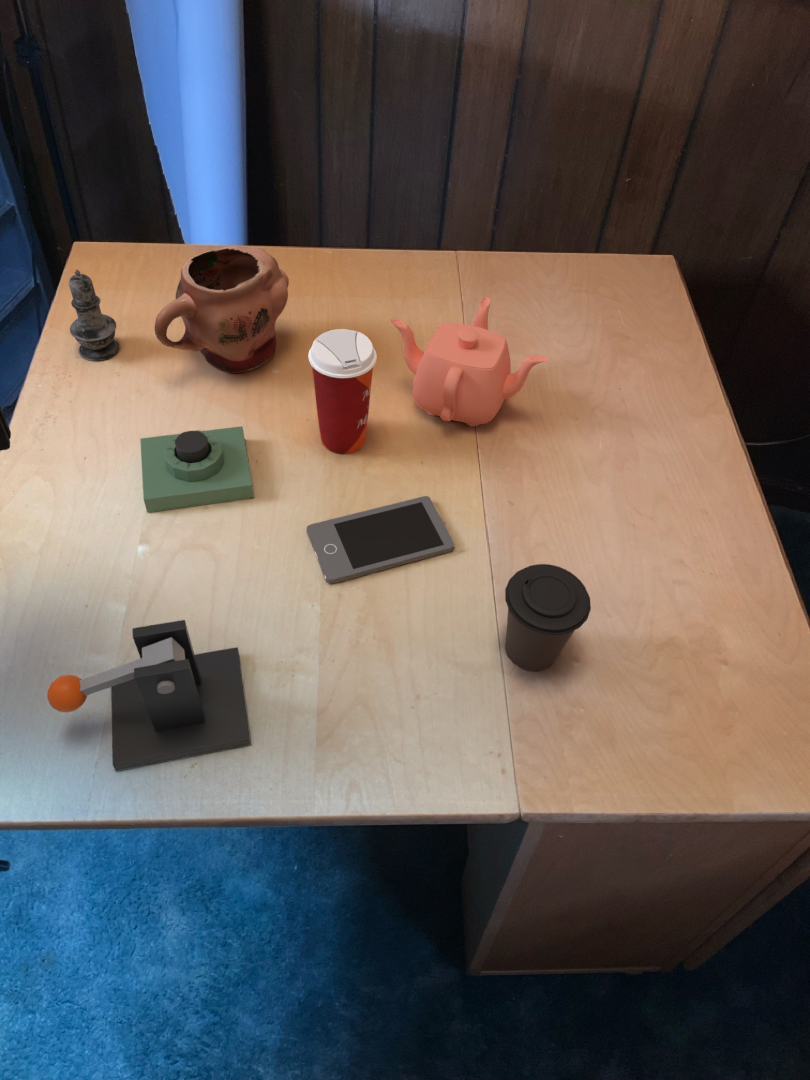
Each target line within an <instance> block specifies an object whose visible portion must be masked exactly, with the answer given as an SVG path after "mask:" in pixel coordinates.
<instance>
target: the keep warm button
mask: <svg viewBox="0 0 810 1080" xmlns="http://www.w3.org/2000/svg"><path fill="white" fill-rule="evenodd" d="M199 431H200V430H199ZM199 431H196V430H187V431H183V432H184V433H182V432H181V433H182V434H181V433H179V434H180V435H179V436H178V437H177V438H176V440H175V446H176V451H177V455H178V457H179V459H180V460H182V461H183V462H186V463H197V462H200V461H202V460H204V459H205V458H206V457H207V456H208V454H209V446H208V440H207V437H206V436H205V435H204V434H203V433H201V432H199Z"/></svg>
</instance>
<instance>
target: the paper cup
mask: <svg viewBox="0 0 810 1080" xmlns="http://www.w3.org/2000/svg"><path fill="white" fill-rule="evenodd" d="M307 356H308V362H309V364H310V365H311V369H312V378H313V386H314V397H315V404H316V413H317V422H318V431H319V437H320V442H321V444H322V446H323V447H324V448H325V449H326V450H328V451H329V452H331V453H334V454H338V455H348V454H352V453H355V452H357V451H359V450H360V449H361V448H362V447H363V446H364V445H365V442H366V438H367V429H368V421H369V414H370V413H369V412H370V403H371V402H370V401H371V394H372V393H371V391H372V382H373V372H374V366H375V365H376V363H377V360H378V359H377V358H378V357H377V352H376V349H375V348H374V345H373V343H372V341H371V339H370V338H369V337H368V336H367V335H366V334H364V333H362V332H360V331H357V330H354V329H353V330H352V329H348V328H335V329H331V330H328V331H325V332H323V333H321V334H319V335H318V336H317V337H316V338H314V340H313V342H312V345H311V347H310V348H309V351H308V355H307Z"/></svg>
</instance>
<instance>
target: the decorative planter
mask: <svg viewBox="0 0 810 1080" xmlns="http://www.w3.org/2000/svg"><path fill="white" fill-rule="evenodd" d="M289 284H290V280H289V276H288V275H287V273H286V272H285V271H284V270H283V269H282V268H280V266H279V263H278V261H277V260H276V258H275V257H274V256H273V255H271V254H269V253H268V252H267V251H266V250H265V249H263V248H260V247H246V246H239V245H227V246H222V247H218V248H215V249H214V248H213V249H210V250H205V251H202V252H200V253H198V254H195V255H194V256H192V257H190V258H189V259H188V260H186V261H185V262H184V264H183V266H182V267H181V268H180V280H179V282H178V285H177V288H176V292H175V299H174V300H172V301H170V302H168V303H167V304H166V305H165V306H164V307H163V308H162V309H161V310H160V311H159V313H158V314H157V315H156V318H155V322H154V334H155V337H156V339H157V340H158V341H159V342H160V344H162V345H163V346H165V347H168V348H172V349H178V350H181V351H191V352H200V353H201V354H202V356H203V357H204V359H205V361H206V363H208V364H209V365H211V366H212V367H214V368H216V369H217V370H218V371H222V372H225V373H230V374H231V373H232V374H239V373H245V372H248V371H251V370H254V369H257V368H259V367H260V366H262V365H263V364H265V363H266V362H268V361H269V360H271V359H272V358H273V357H274V356H275V354H276V350H277V335H276V323H277V322H276V321H277V320H278V318H279V317H280V316H281V314H282V313H283V311H284V309H285V307H286V306H287V302H288V298H289V291H288V289H289ZM180 317H181V319H182V321H183V324H184V328H185V329H184V333H183V336H182V337H181V338H180V339H179V340H176V341H172V340H171V339H169V338H168V336H167V334H168V328H169V326H170V325H171V324H172V322H174V320H176V319H178V318H180Z"/></svg>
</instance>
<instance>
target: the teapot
mask: <svg viewBox="0 0 810 1080" xmlns="http://www.w3.org/2000/svg"><path fill="white" fill-rule="evenodd" d="M490 307H491V298H490V296H484V297H483V298H482V299H481V300H480V303H479V305H478V309H477V311H476V314H475V316H474V319H473V321H472V323H471V324H466V323H459V322H448V321H447V322H443V323H441V324H440V325H439V326H438V327H437V329H436V330H435V332H434V333H433V334H432V337H431V338H430V340H429V342H428V344H427V346H426V348H425V350H424V351H423V350H422V349H420V347H419V346H418V345H417V343H416V339H415V334H414V331H413V329H412V328H411V327H410V325H409V324H407V323H406V322H404V321H402V320H400V319H397V318H391V319H390V321H389V322H390V323H391V324H392V325H393V326H394V327H395V328H396V329H397V330H398V331H399V333H400V334H401V338H402V343H403V355H404V362H405V364H406V366H407V368H408V369H409V371H410V372H411V373H412V374H413V375H414V379H413V383H412V397H413V399H414V401H415V403H416V404H417V406H418V407H419V408H421V409H422V410H424V411H425V412H426V414H428V415H429V416H433V417H437V416H438V417H440V419H441V420H442V421H444V422H450V421H455V422H461V423H465V424H466V425H468V426H470V427H478V426H480V425H484V424H488V423H489V422H491V421H492V420H493V419H494V418H495V416H496V415H497V414H498V412H499V411H500V409H501V407H502V406H503V404H504V401H505V399H507V398H511V397H513V396H515V395H516V394H518V392H520V391H521V389H522V388H523V387H524V384H525V383H526V380H527V378H528V375H529V373H530V371H531V370H532V369H533V367H535V366H536V365H538V364H541V363H545V362H547V361H548V360H549V358H548V357H546V356H543V355H531V356H530V355H529V356H527V357H525V358H524V359H523V360H522V361H521V363H520V365H519V367H518V369H517V371H516V372H513V373H512V371H511V370H512V366H511V365H512V364H511V355H510V349H509V345H508V341H507V339H506V338H505V337H504V336H503V335H501V334H499V333H497V332H494V331H492V330H489V310H490Z"/></svg>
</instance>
